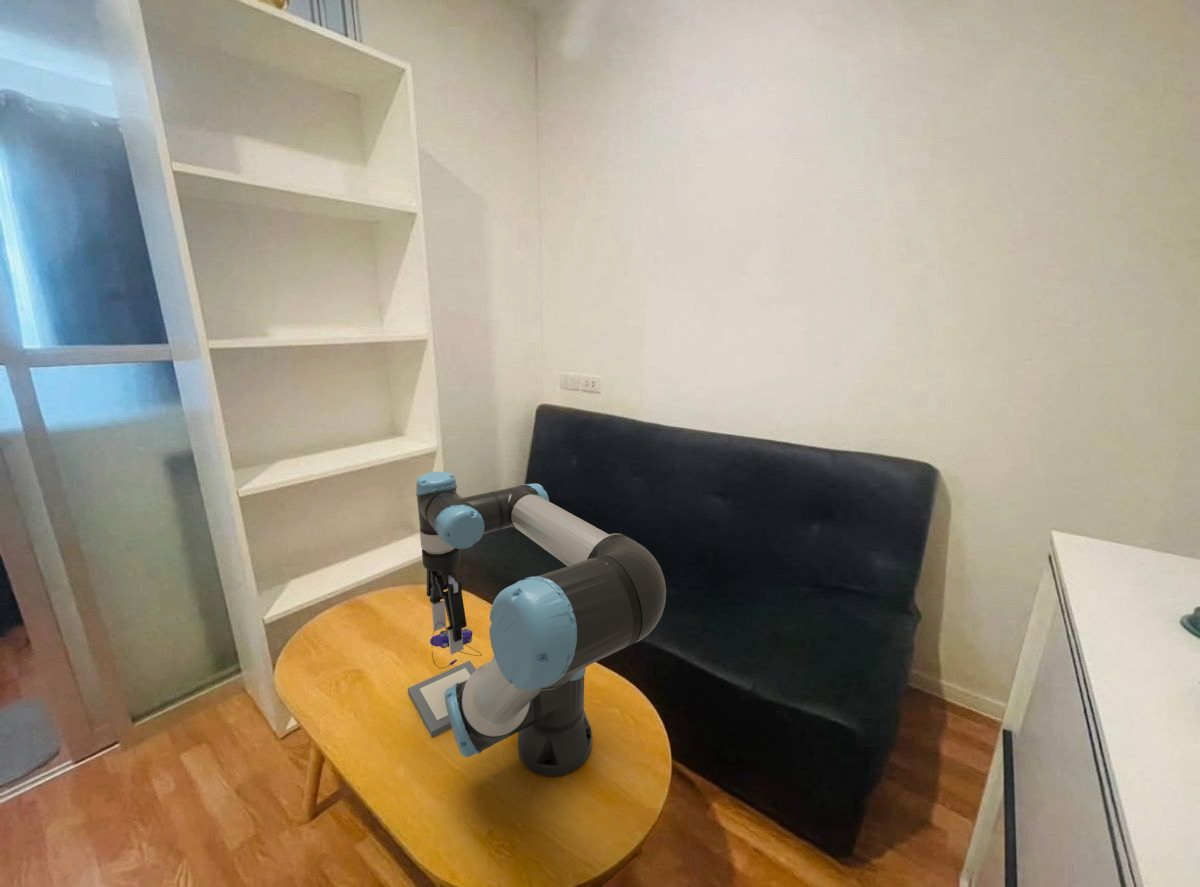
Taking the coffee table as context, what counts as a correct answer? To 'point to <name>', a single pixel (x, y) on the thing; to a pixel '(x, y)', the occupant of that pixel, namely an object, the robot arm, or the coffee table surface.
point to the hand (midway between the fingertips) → (448, 639)
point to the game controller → (443, 640)
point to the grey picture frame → (438, 697)
